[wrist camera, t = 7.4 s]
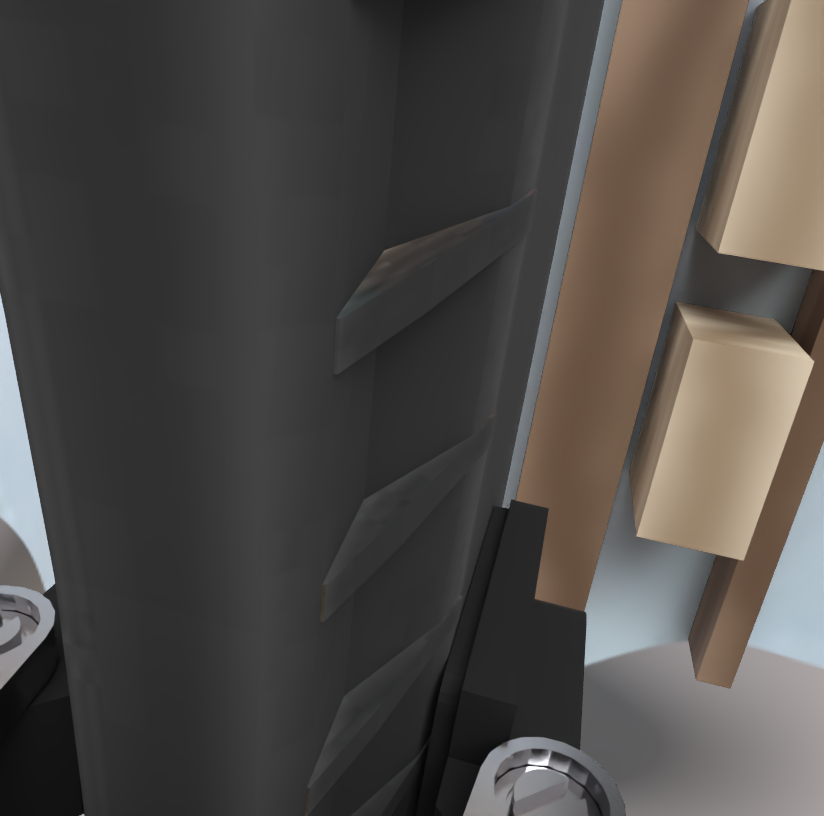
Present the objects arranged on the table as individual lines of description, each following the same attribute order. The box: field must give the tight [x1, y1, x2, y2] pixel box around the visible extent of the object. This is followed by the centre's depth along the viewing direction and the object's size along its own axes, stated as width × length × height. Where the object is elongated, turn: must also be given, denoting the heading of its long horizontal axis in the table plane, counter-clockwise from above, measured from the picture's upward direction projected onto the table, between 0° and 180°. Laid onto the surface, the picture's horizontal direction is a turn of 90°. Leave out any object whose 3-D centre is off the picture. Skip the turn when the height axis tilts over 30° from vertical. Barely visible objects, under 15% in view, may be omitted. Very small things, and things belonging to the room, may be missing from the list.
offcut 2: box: [629, 302, 814, 561], centre depth 30 cm, size 4×8×6 cm, turn 172°
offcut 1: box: [696, 0, 824, 271], centre depth 26 cm, size 4×8×6 cm, turn 172°
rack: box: [515, 0, 824, 688], centre depth 31 cm, size 18×32×3 cm, turn 172°
